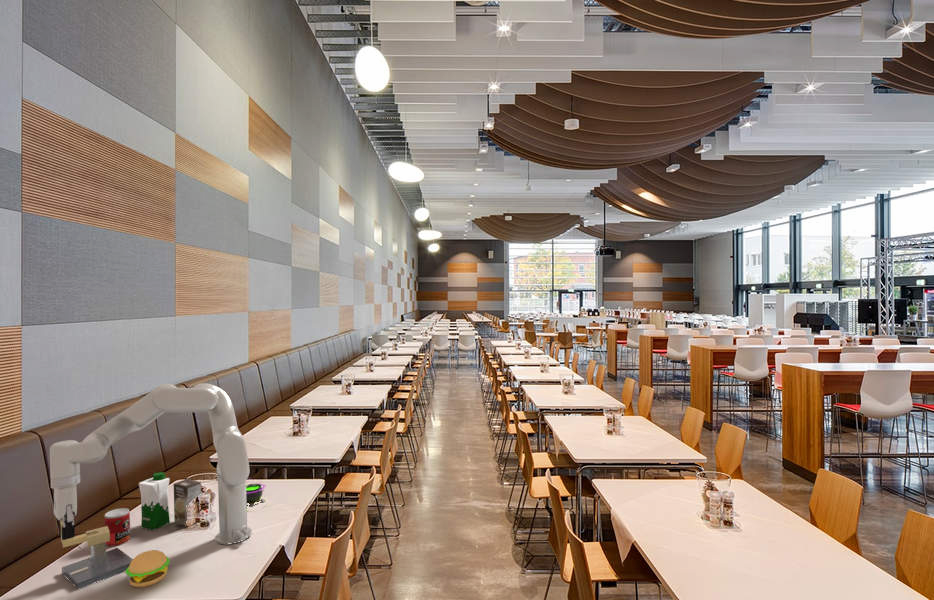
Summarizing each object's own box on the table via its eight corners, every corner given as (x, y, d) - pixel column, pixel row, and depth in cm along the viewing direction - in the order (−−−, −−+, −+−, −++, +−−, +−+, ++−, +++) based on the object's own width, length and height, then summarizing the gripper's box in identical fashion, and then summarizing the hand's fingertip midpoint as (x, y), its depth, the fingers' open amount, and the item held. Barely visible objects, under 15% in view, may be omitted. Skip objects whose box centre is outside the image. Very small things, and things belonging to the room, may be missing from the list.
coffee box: (173, 523, 206) (172, 483, 205) (188, 516, 211) (187, 478, 211) (187, 527, 201) (186, 487, 201) (202, 521, 207) (201, 481, 207)
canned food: (118, 547, 187) (117, 517, 186) (99, 545, 188) (98, 516, 188) (135, 537, 194) (134, 508, 194) (117, 535, 196) (117, 507, 196)
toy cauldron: (278, 500, 227) (277, 475, 226) (250, 514, 213) (250, 487, 213) (253, 495, 233) (252, 471, 233) (225, 508, 219) (224, 482, 219)
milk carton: (173, 522, 207) (172, 472, 206) (152, 532, 198) (150, 480, 198) (158, 518, 210) (156, 470, 210) (137, 528, 202) (135, 478, 201)
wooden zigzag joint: (107, 534, 175) (106, 505, 175) (109, 540, 171) (108, 511, 170) (61, 546, 167) (60, 516, 167) (62, 553, 163) (61, 522, 162)
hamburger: (121, 581, 164) (120, 554, 164) (162, 565, 173) (161, 540, 173) (132, 595, 156) (131, 567, 156) (175, 578, 165) (174, 551, 165)
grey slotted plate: (135, 567, 173) (134, 540, 172) (77, 589, 160) (76, 561, 160) (117, 553, 182) (116, 528, 182) (61, 573, 170) (61, 546, 169)
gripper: (47, 477, 169) (48, 532, 169) (54, 489, 157) (56, 549, 157) (75, 471, 174) (77, 524, 174) (84, 483, 162) (86, 540, 163)
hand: (67, 535), depth 166 cm, fingers closed on wooden zigzag joint, 3 cm apart
